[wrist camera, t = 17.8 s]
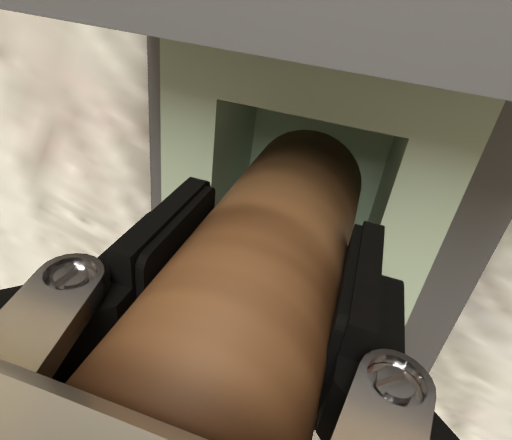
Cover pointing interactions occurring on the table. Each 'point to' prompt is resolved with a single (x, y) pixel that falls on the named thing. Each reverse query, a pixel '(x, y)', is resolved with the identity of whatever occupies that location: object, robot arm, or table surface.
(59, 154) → the table surface
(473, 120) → the sage block
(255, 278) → the walnut dowel
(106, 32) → the table surface
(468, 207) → the board
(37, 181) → the table surface
